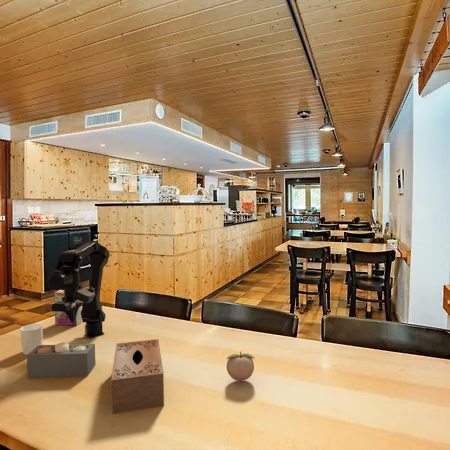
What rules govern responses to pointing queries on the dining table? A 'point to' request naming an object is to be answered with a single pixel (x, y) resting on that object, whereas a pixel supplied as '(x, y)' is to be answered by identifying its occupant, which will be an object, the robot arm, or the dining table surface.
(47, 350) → the terracotta button
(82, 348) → the sage button
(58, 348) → the cream rounded egg shape
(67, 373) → the tray
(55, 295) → the candy bar box
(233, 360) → the decorative fruit
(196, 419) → the dining table surface
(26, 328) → the white cup
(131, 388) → the tissue box cover
